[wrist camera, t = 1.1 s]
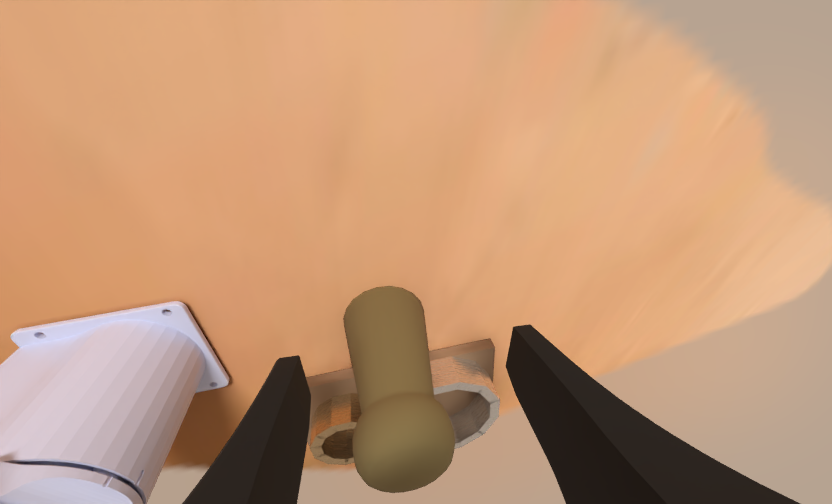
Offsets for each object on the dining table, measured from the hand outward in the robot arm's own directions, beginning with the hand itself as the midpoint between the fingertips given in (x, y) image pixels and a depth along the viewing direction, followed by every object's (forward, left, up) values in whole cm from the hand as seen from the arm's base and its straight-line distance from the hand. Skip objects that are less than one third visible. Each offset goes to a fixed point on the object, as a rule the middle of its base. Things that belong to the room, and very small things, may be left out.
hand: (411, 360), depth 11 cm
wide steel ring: (+3, -17, -10) cm, 20 cm away
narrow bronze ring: (-5, -17, -10) cm, 20 cm away
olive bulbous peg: (-1, -8, -11) cm, 14 cm away
